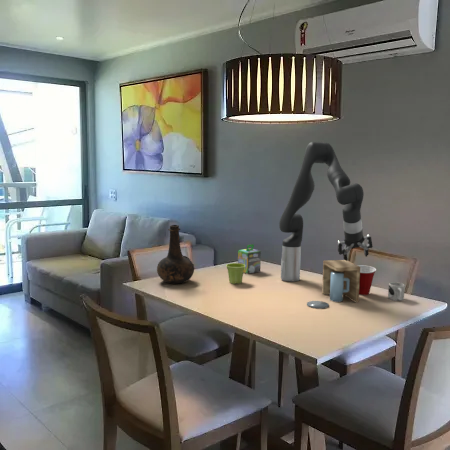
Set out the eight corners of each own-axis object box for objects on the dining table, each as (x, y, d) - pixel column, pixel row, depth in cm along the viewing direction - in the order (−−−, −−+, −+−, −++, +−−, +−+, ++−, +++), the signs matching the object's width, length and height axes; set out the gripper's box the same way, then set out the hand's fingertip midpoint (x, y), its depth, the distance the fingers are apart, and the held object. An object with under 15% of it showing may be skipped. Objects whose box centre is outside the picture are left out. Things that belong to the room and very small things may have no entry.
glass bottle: (201, 282, 242) (201, 225, 238) (171, 288, 230) (171, 229, 226) (179, 275, 255) (179, 221, 251) (149, 281, 243) (149, 224, 239)
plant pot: (239, 286, 236) (239, 268, 235) (222, 283, 241) (222, 265, 240) (248, 281, 244) (248, 264, 243) (232, 279, 249) (232, 262, 248)
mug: (385, 296, 222) (386, 282, 221) (400, 296, 222) (401, 282, 221) (393, 303, 212) (394, 288, 211) (408, 303, 212) (409, 288, 211)
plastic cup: (347, 294, 224) (348, 268, 222) (353, 289, 233) (354, 264, 232) (372, 298, 219) (373, 271, 217) (377, 292, 228) (378, 266, 227)
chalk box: (250, 268, 273) (250, 242, 271) (261, 272, 266) (261, 244, 264) (236, 270, 268) (237, 243, 266) (247, 274, 260) (248, 246, 258)
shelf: (334, 303, 211) (336, 267, 209) (322, 293, 225) (323, 260, 223) (358, 302, 213) (360, 266, 211) (344, 292, 227) (345, 259, 225)
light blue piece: (332, 302, 212) (333, 274, 211) (327, 298, 218) (328, 271, 216) (350, 301, 214) (352, 274, 212) (345, 297, 219) (346, 271, 218)
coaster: (308, 308, 203) (308, 307, 203) (305, 302, 212) (305, 300, 212) (330, 308, 203) (330, 307, 203) (326, 302, 212) (326, 300, 212)
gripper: (367, 218, 207) (369, 249, 216) (333, 226, 208) (337, 255, 217) (372, 228, 201) (375, 259, 210) (338, 236, 202) (341, 266, 211)
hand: (355, 257), depth 214 cm, fingers open, 8 cm apart
